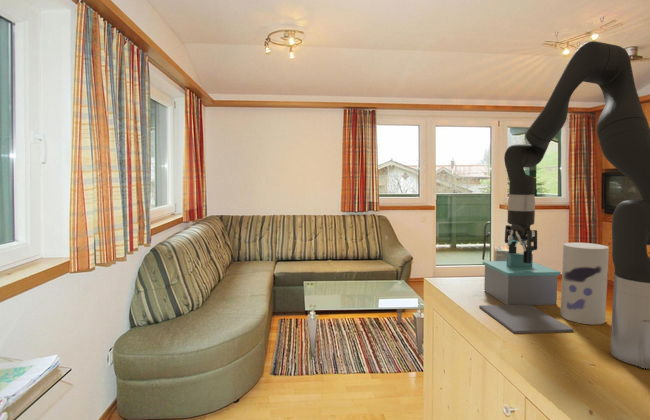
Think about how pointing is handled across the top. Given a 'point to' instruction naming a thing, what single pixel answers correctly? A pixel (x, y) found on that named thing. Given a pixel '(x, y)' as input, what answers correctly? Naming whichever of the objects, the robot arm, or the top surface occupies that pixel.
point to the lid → (519, 267)
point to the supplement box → (500, 253)
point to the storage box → (521, 288)
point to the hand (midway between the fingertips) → (519, 260)
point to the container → (584, 282)
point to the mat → (525, 319)
